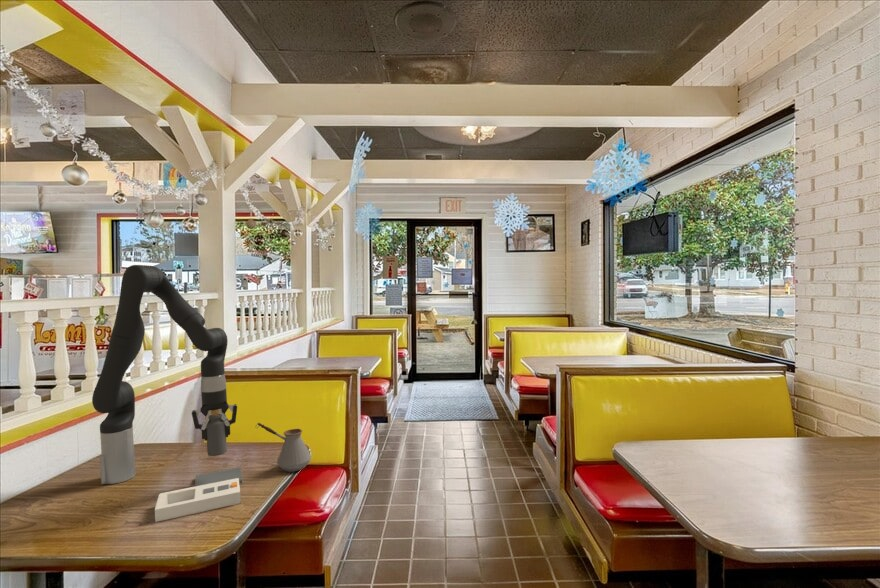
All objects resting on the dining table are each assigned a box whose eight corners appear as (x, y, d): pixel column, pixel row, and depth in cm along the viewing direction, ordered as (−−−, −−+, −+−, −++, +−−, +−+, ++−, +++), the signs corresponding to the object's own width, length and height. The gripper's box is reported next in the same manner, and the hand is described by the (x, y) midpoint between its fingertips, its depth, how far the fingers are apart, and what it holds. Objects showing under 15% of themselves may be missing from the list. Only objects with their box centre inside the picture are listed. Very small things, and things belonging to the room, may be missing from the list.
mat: (194, 493, 146) (194, 489, 146) (196, 478, 157) (195, 475, 157) (242, 483, 152) (241, 480, 152) (240, 470, 163) (240, 466, 163)
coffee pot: (317, 462, 168) (315, 421, 167) (298, 475, 157) (296, 432, 157) (269, 456, 175) (267, 417, 174) (247, 469, 164) (245, 427, 163)
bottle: (219, 456, 151) (216, 411, 150) (203, 456, 152) (200, 411, 152) (230, 450, 157) (228, 406, 156) (215, 449, 158) (213, 406, 157)
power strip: (155, 522, 129) (154, 507, 129) (160, 504, 139) (159, 491, 139) (240, 503, 139) (240, 489, 139) (239, 488, 149) (238, 476, 149)
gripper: (236, 383, 160) (239, 431, 161) (189, 389, 154) (192, 438, 155) (237, 387, 153) (240, 437, 154) (188, 393, 147) (191, 445, 148)
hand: (216, 438), depth 154 cm, fingers closed on bottle, 6 cm apart
